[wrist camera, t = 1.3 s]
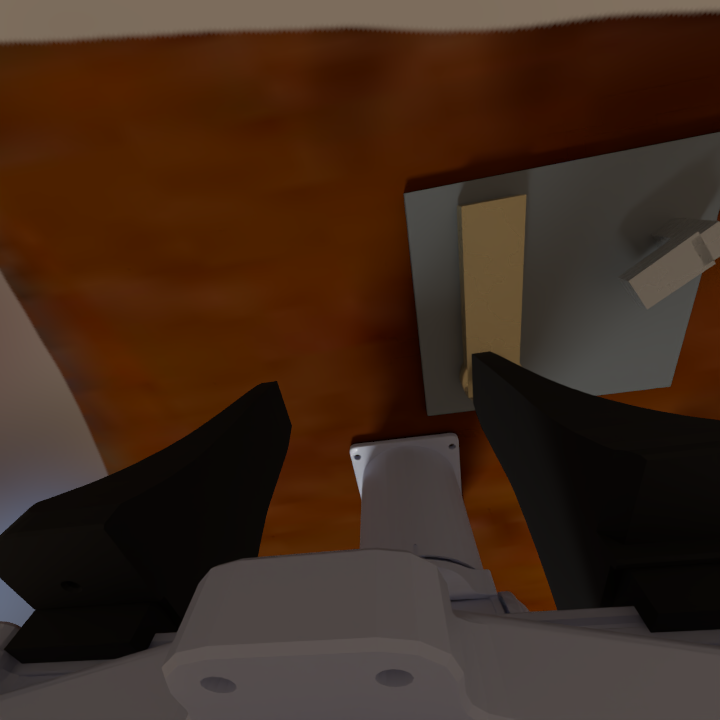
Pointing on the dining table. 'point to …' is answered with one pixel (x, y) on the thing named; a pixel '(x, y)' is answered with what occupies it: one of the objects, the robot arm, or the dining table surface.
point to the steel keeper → (673, 259)
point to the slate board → (569, 267)
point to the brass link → (491, 279)
